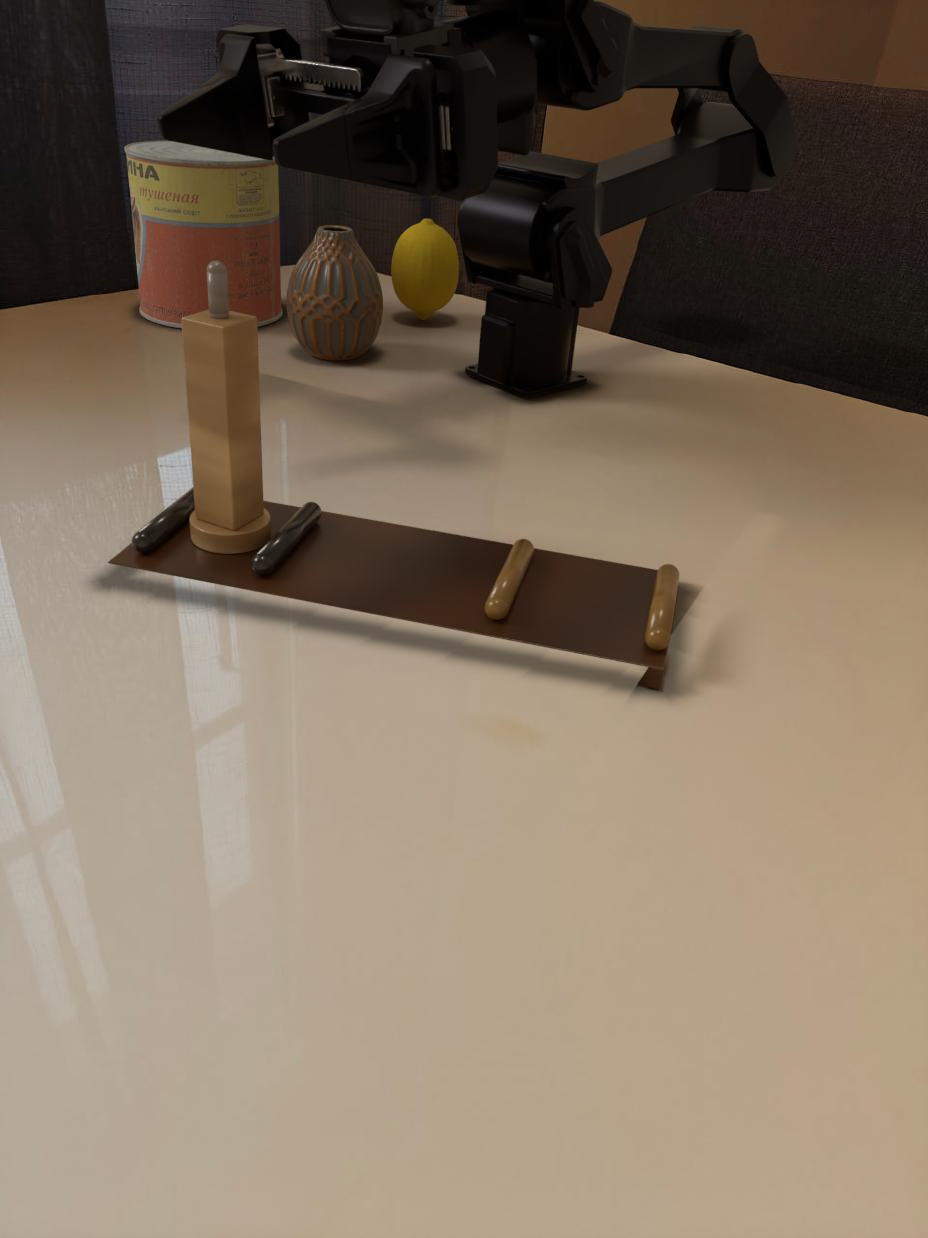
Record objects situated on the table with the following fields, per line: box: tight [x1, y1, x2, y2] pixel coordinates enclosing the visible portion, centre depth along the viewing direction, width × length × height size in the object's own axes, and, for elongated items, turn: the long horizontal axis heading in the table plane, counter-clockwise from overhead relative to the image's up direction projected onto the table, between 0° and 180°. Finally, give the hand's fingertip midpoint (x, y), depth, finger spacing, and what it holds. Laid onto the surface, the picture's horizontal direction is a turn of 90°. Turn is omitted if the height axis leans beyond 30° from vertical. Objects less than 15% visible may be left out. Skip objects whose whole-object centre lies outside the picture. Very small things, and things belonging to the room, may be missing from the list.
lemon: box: [390, 218, 460, 321], centre depth 83 cm, size 6×6×8 cm
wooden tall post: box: [181, 261, 271, 554], centre depth 43 cm, size 4×4×12 cm
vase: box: [286, 224, 384, 361], centre depth 73 cm, size 7×7×9 cm
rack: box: [107, 486, 680, 690], centre depth 45 cm, size 24×8×2 cm, turn 76°
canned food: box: [124, 140, 284, 330], centre depth 79 cm, size 11×11×12 cm
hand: (214, 139), depth 48 cm, fingers open, 9 cm apart
